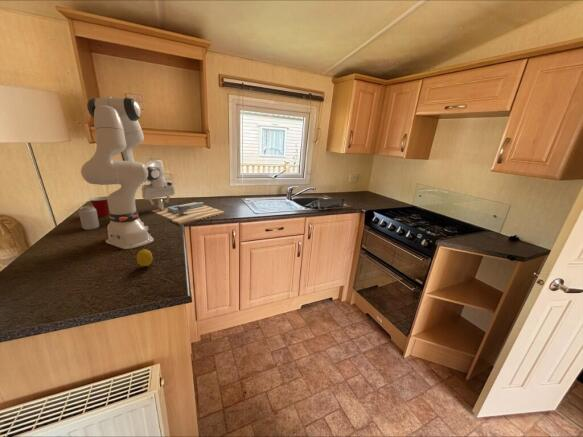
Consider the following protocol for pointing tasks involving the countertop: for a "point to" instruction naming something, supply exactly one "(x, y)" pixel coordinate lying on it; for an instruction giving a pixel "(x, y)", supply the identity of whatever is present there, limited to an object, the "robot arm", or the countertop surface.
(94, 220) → the can
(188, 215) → the board
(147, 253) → the lemon
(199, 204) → the link
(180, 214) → the keeper
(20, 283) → the countertop surface
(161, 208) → the pin
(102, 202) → the plastic cup
